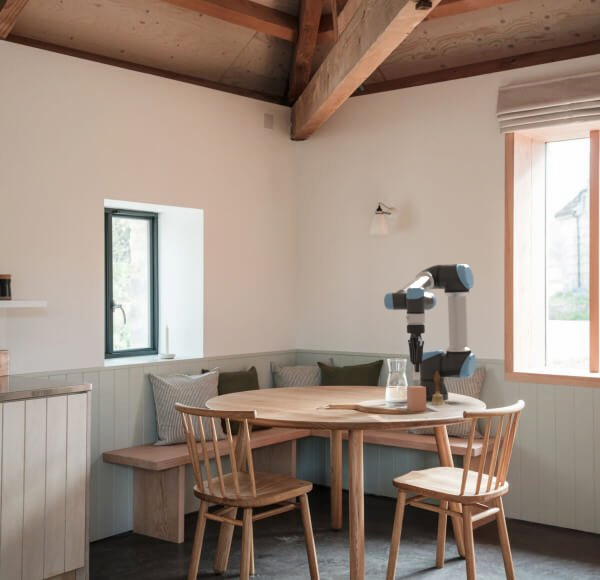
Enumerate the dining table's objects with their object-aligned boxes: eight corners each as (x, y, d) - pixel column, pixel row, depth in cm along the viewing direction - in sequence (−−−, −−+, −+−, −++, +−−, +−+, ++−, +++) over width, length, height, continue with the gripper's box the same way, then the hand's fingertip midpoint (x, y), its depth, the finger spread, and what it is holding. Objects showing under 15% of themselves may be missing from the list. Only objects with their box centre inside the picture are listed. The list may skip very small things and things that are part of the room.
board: (426, 410, 342) (426, 407, 342) (438, 415, 328) (438, 411, 328) (395, 411, 339) (395, 408, 339) (406, 416, 325) (406, 412, 325)
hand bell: (432, 408, 348) (432, 372, 348) (425, 406, 356) (425, 370, 356) (450, 408, 349) (449, 372, 349) (443, 405, 357) (442, 370, 358)
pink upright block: (420, 408, 337) (420, 385, 337) (426, 410, 331) (425, 387, 331) (407, 409, 336) (406, 386, 336) (412, 411, 330) (411, 387, 330)
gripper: (402, 323, 340) (402, 378, 339) (412, 324, 327) (413, 381, 326) (418, 323, 341) (419, 378, 341) (429, 324, 328) (430, 381, 328)
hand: (416, 379), depth 334 cm, fingers closed
